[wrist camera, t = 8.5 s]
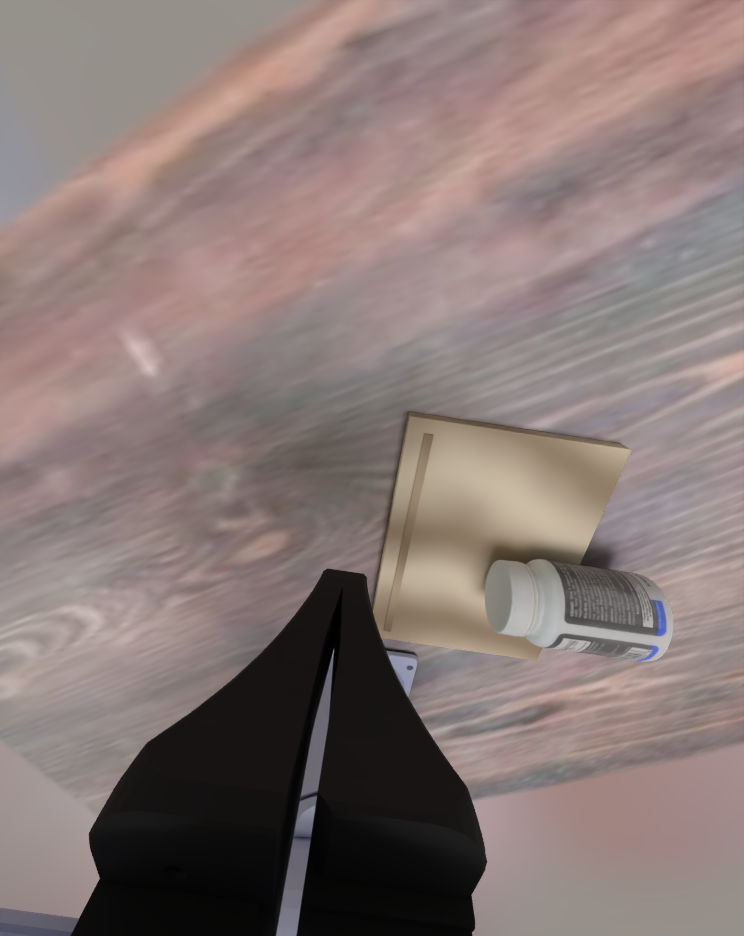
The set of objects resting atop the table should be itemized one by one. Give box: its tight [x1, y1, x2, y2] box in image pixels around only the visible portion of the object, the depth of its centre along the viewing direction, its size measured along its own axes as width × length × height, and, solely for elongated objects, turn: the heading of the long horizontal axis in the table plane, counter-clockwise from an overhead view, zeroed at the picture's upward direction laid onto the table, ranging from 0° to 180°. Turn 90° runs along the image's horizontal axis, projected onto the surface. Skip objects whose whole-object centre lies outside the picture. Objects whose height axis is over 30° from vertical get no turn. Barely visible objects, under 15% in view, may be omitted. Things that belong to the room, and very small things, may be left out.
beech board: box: [372, 412, 631, 661], centre depth 23 cm, size 16×12×1 cm
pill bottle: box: [485, 559, 673, 662], centre depth 20 cm, size 5×5×8 cm
